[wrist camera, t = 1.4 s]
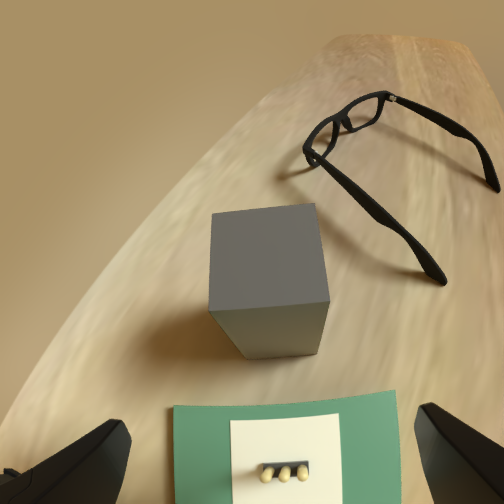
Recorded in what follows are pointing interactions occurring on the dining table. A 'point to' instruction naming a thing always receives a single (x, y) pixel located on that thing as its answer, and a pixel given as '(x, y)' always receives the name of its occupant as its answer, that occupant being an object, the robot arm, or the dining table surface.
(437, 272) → the glasses
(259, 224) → the block
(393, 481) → the board
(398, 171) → the dining table surface
